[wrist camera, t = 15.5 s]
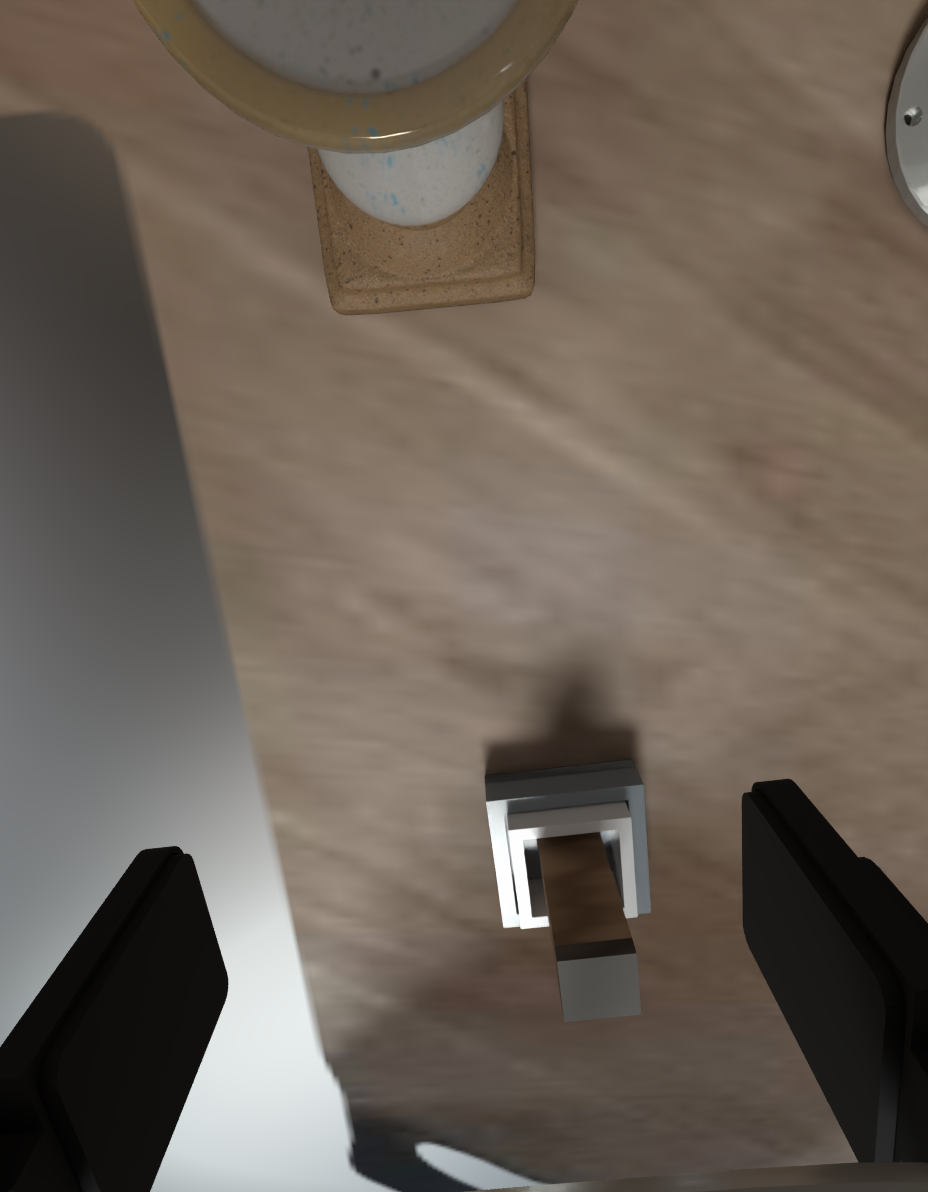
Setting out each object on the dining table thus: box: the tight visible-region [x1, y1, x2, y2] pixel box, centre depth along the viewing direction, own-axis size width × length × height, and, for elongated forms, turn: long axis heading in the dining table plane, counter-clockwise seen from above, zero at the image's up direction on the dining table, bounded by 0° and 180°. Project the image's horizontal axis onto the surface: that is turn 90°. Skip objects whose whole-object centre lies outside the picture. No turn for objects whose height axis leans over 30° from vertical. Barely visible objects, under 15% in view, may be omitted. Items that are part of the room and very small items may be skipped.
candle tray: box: [485, 759, 651, 929], centre depth 44 cm, size 10×10×4 cm
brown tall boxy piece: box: [537, 832, 641, 1022], centre depth 40 cm, size 4×4×12 cm
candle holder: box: [133, 0, 578, 315], centre depth 23 cm, size 11×11×24 cm
